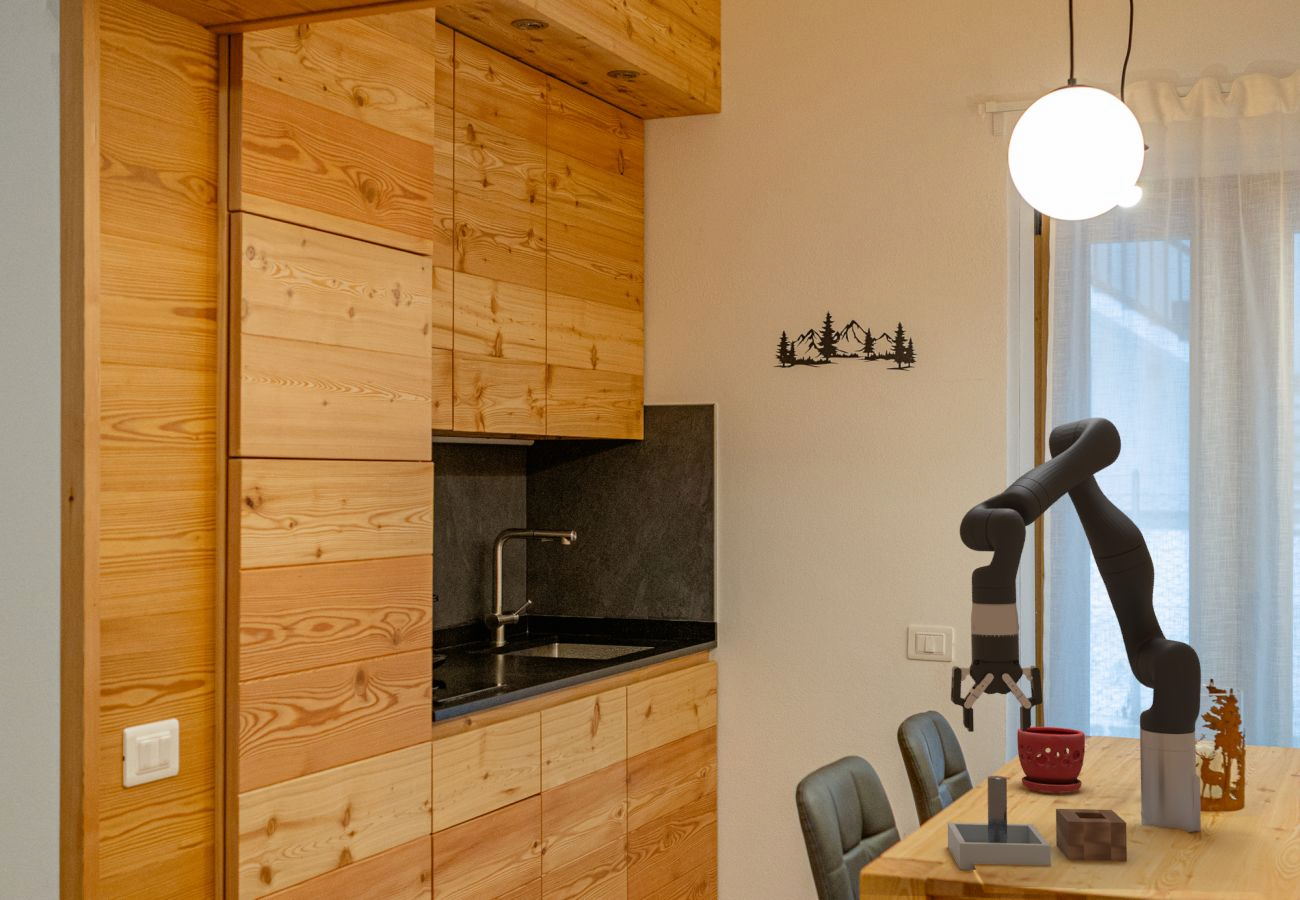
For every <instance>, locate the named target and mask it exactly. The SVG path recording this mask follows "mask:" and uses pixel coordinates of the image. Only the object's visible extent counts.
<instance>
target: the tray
mask: <svg viewBox="0 0 1300 900" xmlns="http://www.w3.org/2000/svg"><path fill="white" fill-rule="evenodd" d="M947 848H948V850H949V852H950V853H951V855H952V857H953V859H954V861H955V863H956V864H957V866H958V869H959V870H966V871H967V870H971V871H977V868H976V866H975V865H976V864H977V865H978V864H979V865H985V864H986V865H1018V866H1019V865H1020V866H1051V865H1052V861H1051V860H1052V858H1051V857H1052V854H1051V851H1052V850H1051V849H1052V848H1051V845H1050V843H1049V842H1048V840H1046V838H1045V837H1044V836H1043V834H1041V832H1040V831H1039V830H1038V828H1037V827H1036V826H1035V825H1034V824H1031V823H1027V824H1025V823H1007V843H988V822H987V823H985V822H983V823H982V822H974V823H973V822H947ZM974 864H975V865H974Z"/></svg>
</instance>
